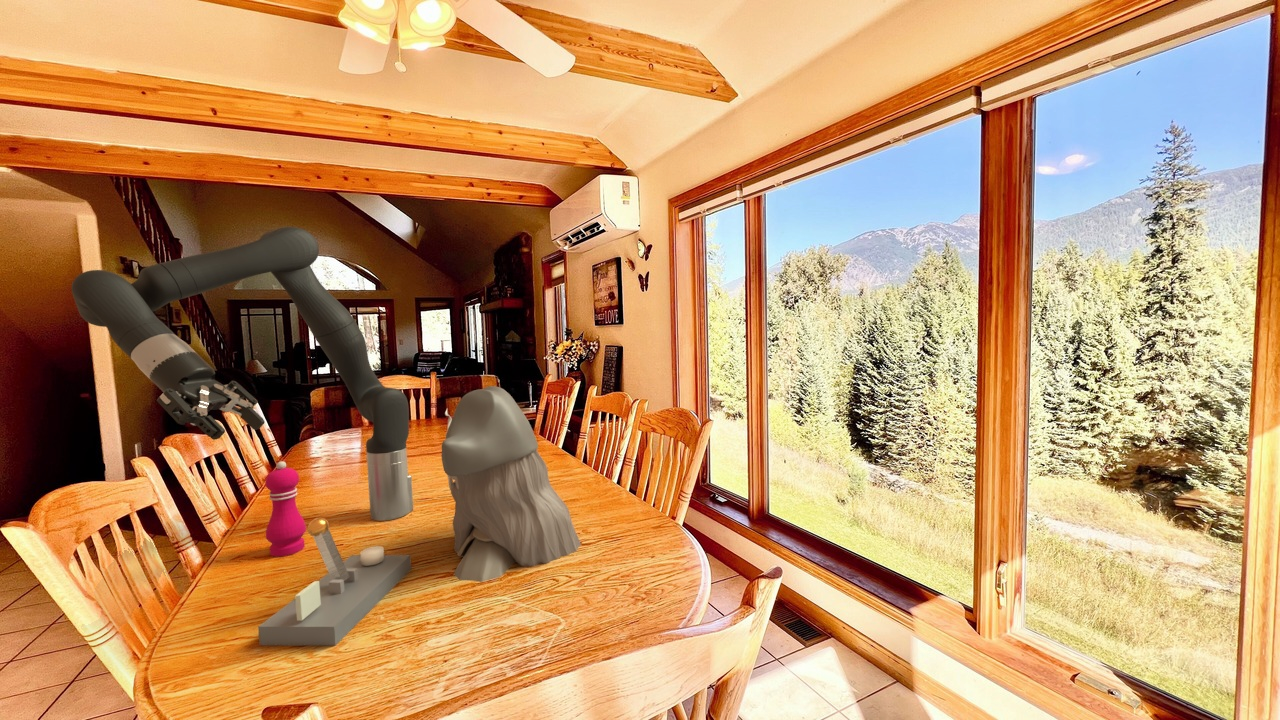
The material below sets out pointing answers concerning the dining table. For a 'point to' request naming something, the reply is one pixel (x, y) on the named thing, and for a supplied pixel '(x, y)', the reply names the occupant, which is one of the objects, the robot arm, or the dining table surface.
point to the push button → (372, 555)
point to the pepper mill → (284, 512)
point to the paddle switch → (307, 600)
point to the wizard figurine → (501, 489)
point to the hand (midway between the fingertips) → (241, 430)
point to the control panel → (336, 604)
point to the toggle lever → (328, 548)
